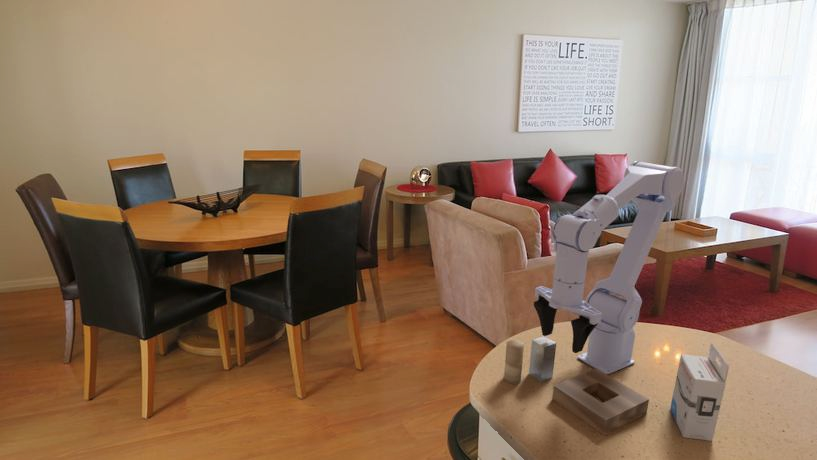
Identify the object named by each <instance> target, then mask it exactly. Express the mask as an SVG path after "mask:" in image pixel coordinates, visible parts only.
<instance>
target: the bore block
mask: <svg viewBox="0 0 817 460" xmlns="http://www.w3.org/2000/svg"><path fill="white" fill-rule="evenodd" d="M552 389H553V390H552V396H551V397H552V400H553V401H554V402H556V403H557V404H559V405H561V406H562V407H563V408H565V409H566V410H567V411H569V412H570V413H572V415H574V416H576V417H577V418H579V419H580V420H582V421H583V422H585V423H586V424H588V425H589V426H590V427H592V428H593V429H595V430H596V431H597V432H599V433H600V434H602V435H603V436H605V435H607V434H609V433H611V432H613V431H615V430H616V429H619V428H620V427H622V426H624V425H626V424H629V423H630V422H632V421H635V420H636V419H638V418H640V417H642V416H645V414H647V413H648V407H649V403H650V399H649V398H648V397H646V396H644V395H643V394H641V393H639V392H637V391H635V390H634V389H632V388H630V387H629V386H627V385H626V384H623V383H622V382H620V381H618V380H617V379H615V378H614V377H611V376H609V374H605V373H603V372H601V371H599V370H598V369H596V368H594V369H591V370H589V371H586V372H583V373H582V374H578V375H575V376H574V377H571V378H569V379H566V380H564V381H561V382H559V383H556V384H554V385H553V388H552ZM596 396H597V398H600V399H601V400H603V401H604V402H602V401H601V400H599V399H597V398H596Z"/></svg>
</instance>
